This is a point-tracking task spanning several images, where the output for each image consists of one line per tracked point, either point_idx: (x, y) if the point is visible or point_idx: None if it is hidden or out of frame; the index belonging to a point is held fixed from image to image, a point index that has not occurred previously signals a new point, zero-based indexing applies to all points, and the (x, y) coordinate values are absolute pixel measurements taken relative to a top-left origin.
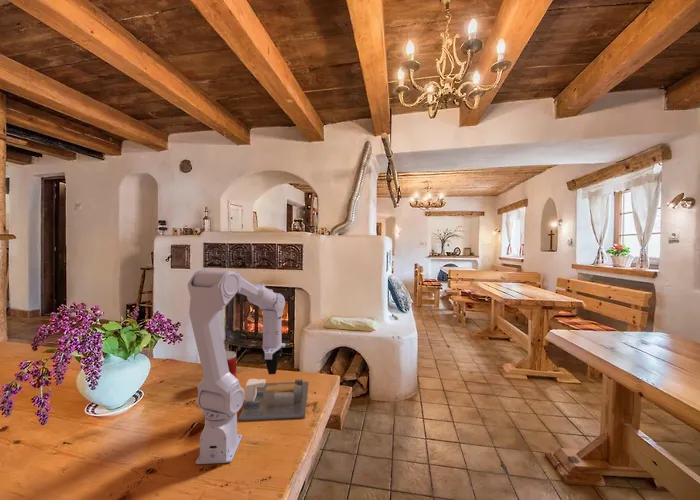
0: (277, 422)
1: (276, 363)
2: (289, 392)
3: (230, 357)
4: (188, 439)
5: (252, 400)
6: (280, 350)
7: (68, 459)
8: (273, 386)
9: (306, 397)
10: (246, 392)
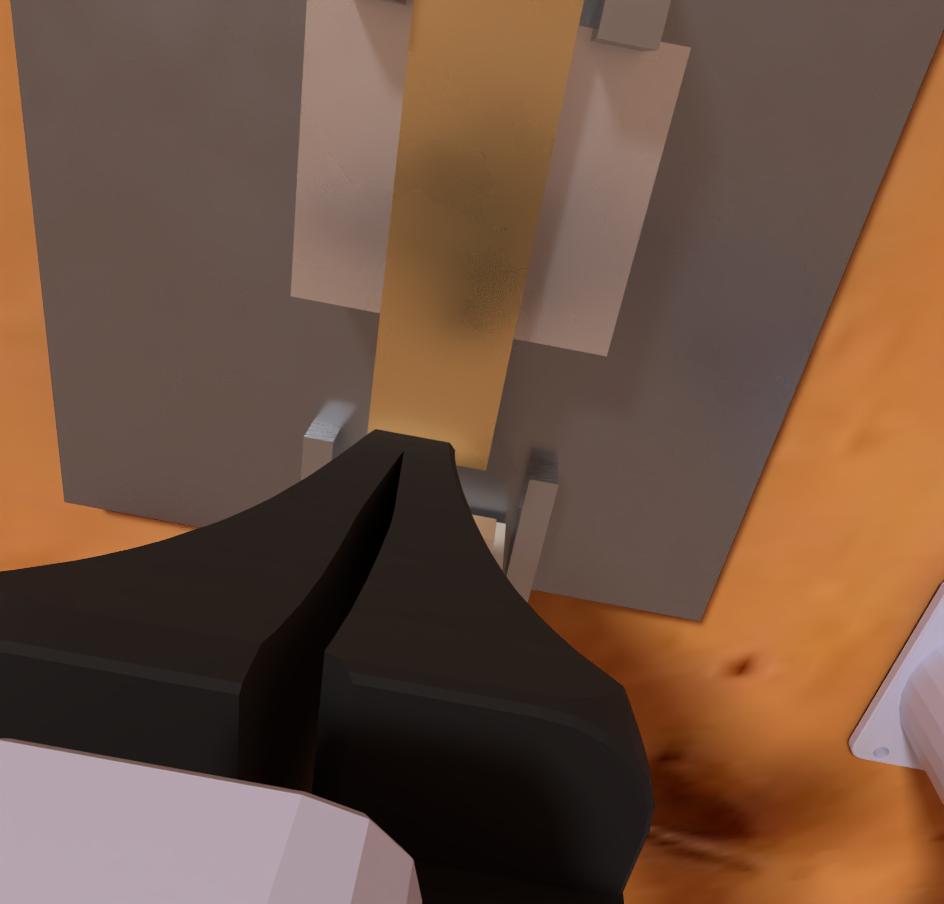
0: (885, 272)
1: (494, 568)
2: (602, 122)
3: None
4: (784, 838)
5: (503, 543)
6: (213, 720)
7: None
8: (414, 369)
9: None
10: None
